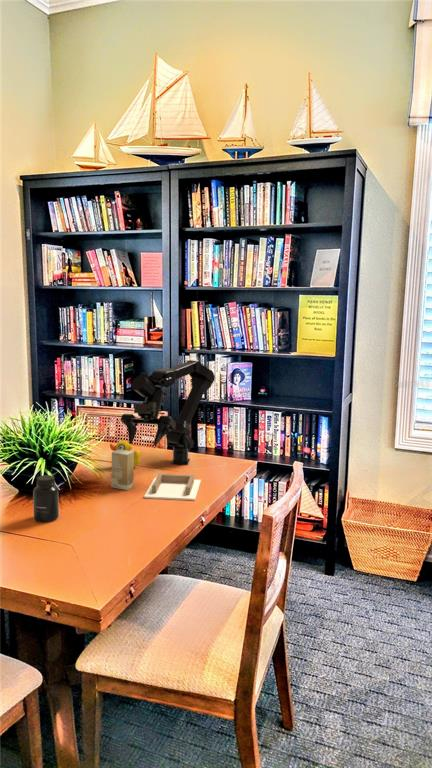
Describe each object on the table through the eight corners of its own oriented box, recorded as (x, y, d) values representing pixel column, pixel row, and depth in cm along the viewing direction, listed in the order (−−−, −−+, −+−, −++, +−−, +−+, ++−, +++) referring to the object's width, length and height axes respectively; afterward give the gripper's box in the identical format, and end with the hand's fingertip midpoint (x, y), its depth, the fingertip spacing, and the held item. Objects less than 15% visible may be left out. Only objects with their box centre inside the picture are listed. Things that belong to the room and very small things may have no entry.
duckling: (108, 468, 202) (107, 442, 200) (112, 464, 207) (111, 438, 206) (138, 470, 201) (138, 443, 200) (142, 465, 206) (142, 439, 205)
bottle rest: (154, 479, 192) (154, 470, 191) (200, 481, 190) (201, 472, 190) (144, 498, 174) (144, 488, 173) (194, 500, 173) (195, 490, 172)
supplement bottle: (36, 524, 152) (34, 483, 150) (31, 516, 158) (30, 475, 156) (61, 520, 155) (60, 479, 153) (56, 512, 161) (55, 472, 159)
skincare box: (110, 487, 182) (110, 451, 181) (117, 483, 186) (117, 448, 185) (127, 490, 180) (127, 454, 178) (134, 486, 184) (134, 450, 182)
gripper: (119, 391, 190) (107, 434, 184) (168, 393, 184) (158, 437, 178) (132, 405, 200) (121, 446, 193) (180, 407, 194) (170, 449, 187)
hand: (142, 444), depth 187 cm, fingers open, 9 cm apart
